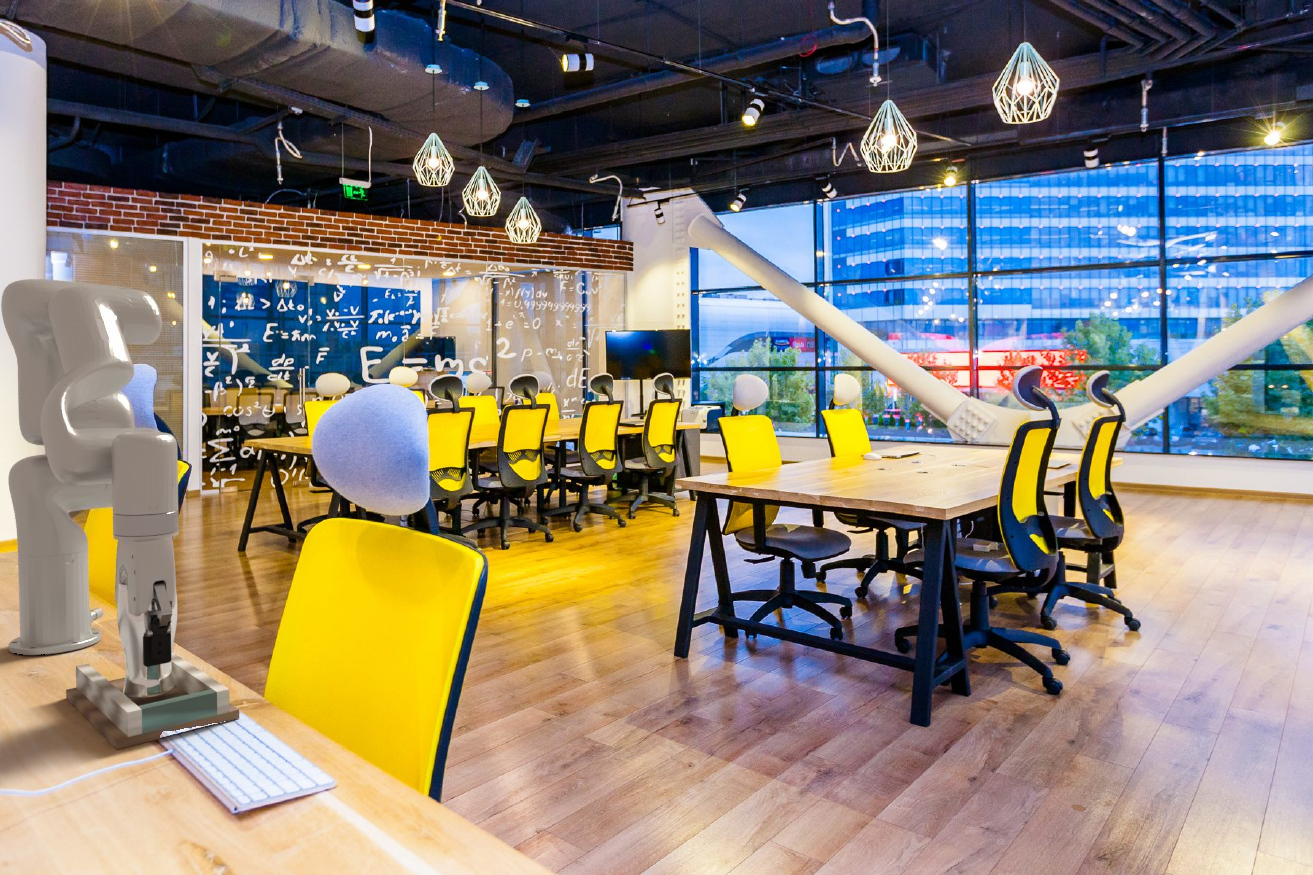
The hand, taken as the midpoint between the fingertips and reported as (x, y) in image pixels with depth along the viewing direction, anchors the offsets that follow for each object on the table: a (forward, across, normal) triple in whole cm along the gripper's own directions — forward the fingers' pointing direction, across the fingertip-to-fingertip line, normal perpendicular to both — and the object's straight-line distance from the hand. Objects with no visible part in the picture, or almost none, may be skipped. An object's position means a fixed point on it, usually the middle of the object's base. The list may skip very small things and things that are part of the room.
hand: (148, 656), depth 116 cm
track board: (+7, 0, 0) cm, 7 cm away
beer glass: (+5, 0, 0) cm, 5 cm away
